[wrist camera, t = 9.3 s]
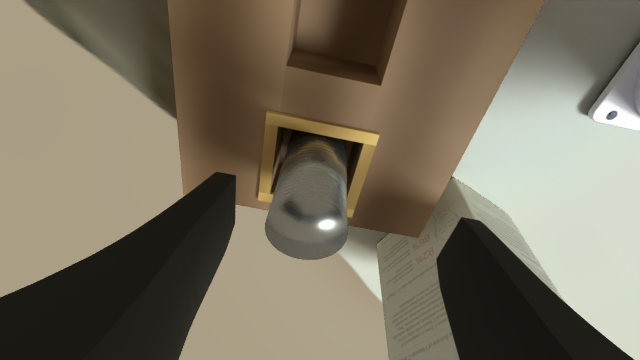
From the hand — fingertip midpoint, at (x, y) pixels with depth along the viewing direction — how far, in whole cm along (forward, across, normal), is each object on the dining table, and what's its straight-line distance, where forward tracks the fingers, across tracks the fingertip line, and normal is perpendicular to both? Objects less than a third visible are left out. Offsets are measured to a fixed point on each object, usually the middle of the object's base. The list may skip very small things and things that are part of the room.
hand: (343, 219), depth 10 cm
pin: (+9, +1, +2) cm, 9 cm away
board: (+10, +1, -1) cm, 10 cm away
